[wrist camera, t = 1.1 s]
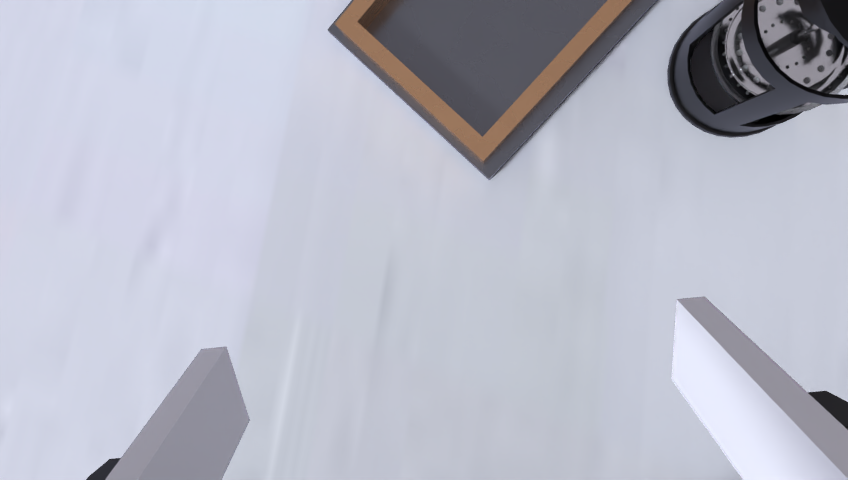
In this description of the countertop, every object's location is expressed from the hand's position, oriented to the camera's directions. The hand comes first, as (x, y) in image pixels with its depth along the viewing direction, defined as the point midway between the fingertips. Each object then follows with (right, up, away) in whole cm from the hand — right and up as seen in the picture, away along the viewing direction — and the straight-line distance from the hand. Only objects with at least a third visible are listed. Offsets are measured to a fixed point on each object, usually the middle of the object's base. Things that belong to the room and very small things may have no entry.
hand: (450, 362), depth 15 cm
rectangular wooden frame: (+4, +21, +23) cm, 32 cm away
